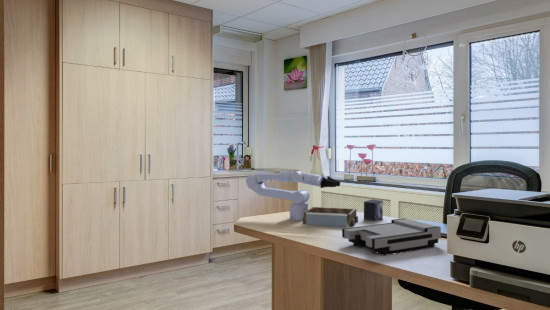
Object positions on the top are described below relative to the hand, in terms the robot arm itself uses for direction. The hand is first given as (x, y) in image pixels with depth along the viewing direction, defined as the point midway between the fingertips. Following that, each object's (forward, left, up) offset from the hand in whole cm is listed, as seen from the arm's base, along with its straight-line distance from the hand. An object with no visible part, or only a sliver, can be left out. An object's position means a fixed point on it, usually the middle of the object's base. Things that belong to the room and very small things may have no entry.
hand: (338, 184), depth 216 cm
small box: (+16, +11, -20) cm, 28 cm away
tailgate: (-3, -12, -19) cm, 22 cm away
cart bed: (-3, -4, -20) cm, 20 cm away
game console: (+30, -39, -20) cm, 53 cm away
